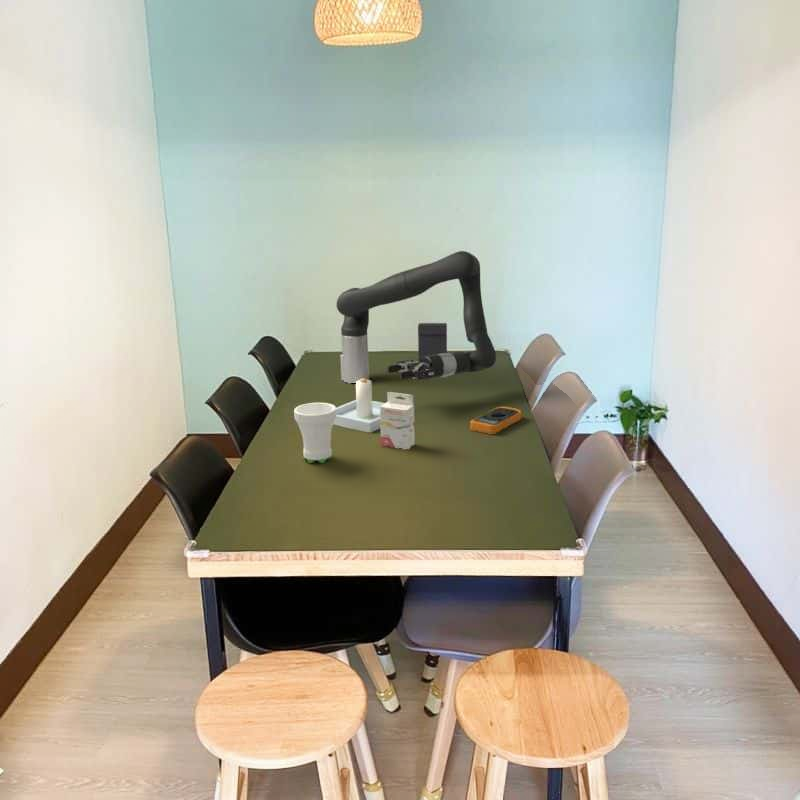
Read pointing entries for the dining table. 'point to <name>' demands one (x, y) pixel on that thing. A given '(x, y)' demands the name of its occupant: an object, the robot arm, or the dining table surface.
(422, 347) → the dark grey box
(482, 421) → the multimeter
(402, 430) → the ink cartridge box
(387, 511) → the dining table surface
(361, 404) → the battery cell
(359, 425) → the pale blue square tray
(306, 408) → the cup
